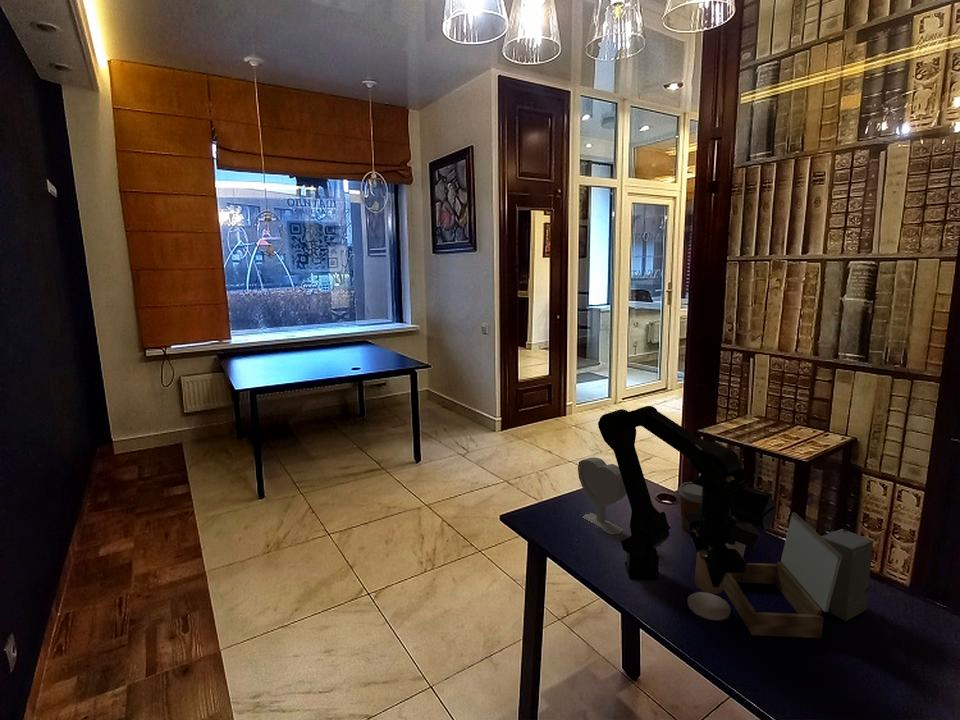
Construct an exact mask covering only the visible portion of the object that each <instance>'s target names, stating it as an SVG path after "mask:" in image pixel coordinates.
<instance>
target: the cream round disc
mask: <svg viewBox="0 0 960 720" xmlns="http://www.w3.org/2000/svg"><path fill="white" fill-rule="evenodd" d="M686 602H687V607H688V609H690V611H691V610H692V611H693V612H692V611H691V612H692V613H693V614H695V615H696V616H698V617H700V618H702V619H705V620H709V621H724V620H726V619H729V617H730V616H731V611H732V610H731V608H732V607H731V606H730V605H729V603H728V602H727V601H726V600H725V599H723V598H722V597H720V596H719V595H716V594H713V593H707V592H704V591H700V592H699V591H698V592H694V593H691V594H690V595H688V596H687V601H686Z"/></svg>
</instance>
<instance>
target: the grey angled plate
mask: <svg viewBox="0 0 960 720" xmlns="http://www.w3.org/2000/svg"><path fill="white" fill-rule="evenodd" d="M786 533H787V534H786V538H785V542H784V546H783V550H782V555H781V559H780V562H781V563H782V564H783V565H784V566H785V568H786V569H787V570H788V571H789V572H790V573H791V575H792V576H793V577H794V578H795V579H796V580H797V582H798V583H799V584H800V585H801V586H802V587H803V589H804V590H806V591H807V592H808V593H809V595H810V596H811V597H812V598H813V600H814V601H815V602H816V603H817V604H818V605H819V606H820V607H821V610H822V612H824V613H829V612H828V608H829V605H830V601H831V597H832V593H833V589H834V585H835V582H836V578H837V574H838V570H839V566H840V562H841V561H842V557H843V556H842V555H841V554H840V553H838V552H837V551H836V550H835V549H834V548H833V547H832V546H831V545H830V544H829V543H828V542H827V541H825V540H824V539H823V538H822V537H821V536H822V535H820V534H819V533H818V532H817V531H816V530H815V529H813V527H811V526H810V524H809V523H807V522H806V521H805V520H804V519H803V518H802V517H801V516H800V515H798V514H797V512H791V516H790V520H789V525H788V529H787V532H786Z"/></svg>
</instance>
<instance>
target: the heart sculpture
mask: <svg viewBox="0 0 960 720" xmlns="http://www.w3.org/2000/svg"><path fill="white" fill-rule="evenodd" d="M577 465H578V466H577V474H578V475H577V476H578V479H579V482H580V484H581V487H582V490H583V491H584V492H585V493H586V494H585V495H587V497H588V498H589V500H590V501H591V502H592V503H593V505H594V506H595V508H596V514H595V513H594V514H593V512H589V513H590V514H585V515H584V516H583V517H582V518H584V519H586V520H588V521H590V522H591V523H594V524H596V525H597V526H599V527H601V528H602V529H603V530H604V531H603V530H602V531H603V532H605V531H606V532H605V533H607V534H608V535H619V534H621V533H622V532H623V530H624V529H623V528H622V527H620V526H618V525H616V524H614V523H613V522H610V521H608V520H606V510H607V509H606V508H607V506H609V505H612V504H615V503H616V502H619V501H621V500H623V499H624V497H625V496H627V493H626V490H625V486H624V483H623V480H622V476H621V473H620V470H619V467H618V464H617V465H616V464H614V463H610V464H609V463H608V464H607V463H606V462H605V460H603V459H602V458H599V457H588V458H584V459H581V460H580V461H578V463H577Z"/></svg>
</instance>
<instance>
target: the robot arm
mask: <svg viewBox="0 0 960 720" xmlns="http://www.w3.org/2000/svg"><path fill="white" fill-rule="evenodd" d="M597 425H598V430H599V432H600V434H601V437H602V438H603V441H604V442H605V443H606V444H607V445H608V447H609V448H610V449H611V450H612V451H613V453H614V456H615V460H616V463H617V466H618V467H619V470H620V473H621V476H622V480H623V483H624V486H625V490H626V496H627V499H628V502H629V505H630V509H631V510H630V511H631V516H630V521H629V528H630V534H631V535H630V536H629V537H626V538H624V539H623V540H621V546H622V547H621V548H622V550H623V551H624V552H626V561H624V566H625V569H626V572H627V574H628V575H627V576H628V578H629V579H631V580H645V581H646V580H649V581H657V580H658V579H659V576H658V575H657V574H658V573H659V570H660V569H659V567H660V556H659V554H658V551H657V548H658V547H661V546H662V544H663V543H665V542H666V541H667V540H668V539H669V537H670V530H671V526H670V525H669V522H668V518H667V515H666V512H665V511H658V509H657V508H655V506H654V505H653V502H652V498H651V495H650V492H649V489H648V486H647V482H646V479H645V475H644V472H643V469H642V466H641V463H640V460H639V457H638V453H637V450H636V447H635V444H636V439H637V427H641V428H644V429H645V430H646V431H648V432H650V434H652V435H654V436H655V437H657V438H658V439H660V440H661V441H663V442H664V443H665V444H667V445H669V446H670V447H672V448H673V449H674V450H676V451H677V452H679V453H680V454H682V455H683V456H685V458H687V459H688V461H689V462H690V464H691V466H692V467H693V469H694V470H695V471H696V472H698V474H700V475H699V476H698V477H696V478H695V479H693V480H691V482H692V483H693V484H695V485H698V486H701V487H702V500H701V508H697V513H698V514H689V515H687V516H686V517H685V526H686V527H687V529H688V530H692V528H693V532H689V533H688V535H689V537H690V539H691V542H692V544H693V547H694V550H695V552H696V554H697V553H698V552H699V551H701V550H703V549H709V548H712V549H711V550H710V551H709V552H707V557H704V560H705V563H706V567H707V570H708V573H709V576H710V580H711V583H712V586H713V587H719V585H720V584H721V582H722V580H723V578H724V576H725V574H726V573H746V569H747V563H748V562H747V561H746V560H745V559H744V556H743V557H742V556H741V554H740V553H739V552H738V551H737V550H736V549H728V548H727V546H726V543H728V544H729V545H735V541H736V542H739V543H741V544H744V545H746V546H748V548H749V549H755V548H756V546H757V544H758V542H759V539H760V538H761V533H760V532H759V531H758V530H757V529H756V527H758V528H761V529H763V530H766V531H767V530H769V529H770V528H771V526H772V525H773V523H774V521H775V517H776V514H777V507H776V503H775V500H774V499H773V493H771V492H768V491H763V490H759V489H755V488H752V487H750V486H749V485H751V481H750V479H749V477H748V476H747V474H746V472H745V470H744V469H743V467H742V466H741V461H740V458H739V455H738V454H737V452H735V451H734V450H732V449H731V448H728V447H726V446H724V445H722V444H720V443H717V442H713V441H708V440H705V439H703V438H700V437H698V436H697V435H695V433H692V432H691V431H689V430H688V429H686V428H684V427H683V426H682V425H680V424H678V423H677V422H675V421H673V419H671V418H669V417H667V416H666V415H665V414H663V413H661V412H660V411H659V410H658V409H657V408H656V407H655V406H652V405H646V406H643V407H640V408H637V409H634V410H630V411H628V410H627V409H624V408H623V409H621V408H620V409H617V410H614V411H610V412H608V413H604V414H603V415H602V414H601V416H600V417H599V420H598V423H597ZM730 477H733V478H734V479H733V480H731V481H728V479H729V478H730Z"/></svg>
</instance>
